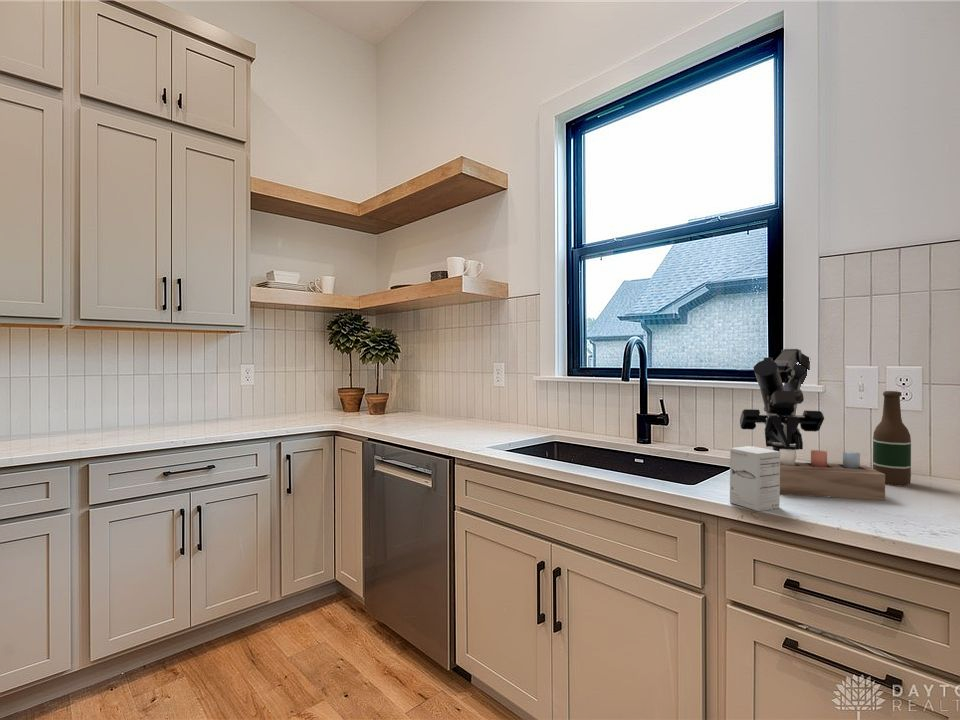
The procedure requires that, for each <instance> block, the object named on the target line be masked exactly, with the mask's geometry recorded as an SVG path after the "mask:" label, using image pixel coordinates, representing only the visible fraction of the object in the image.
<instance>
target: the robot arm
mask: <svg viewBox="0 0 960 720" xmlns="http://www.w3.org/2000/svg"><path fill="white" fill-rule="evenodd" d="M809 358H810V356H807V355H805V354H804V353H803V352H802V350H801V349H799V348H783V349H781V350H780V354H779V356H777V357H776V358H775V360H773V359H774V358H773V357H764V358H763V360H760V361H759V362H757V363H756V364H755V365H753V372H754V374H755V377H756V380H757V381H756V382H757V384H758V386H759V389H760V393H761V394H760V395H761V398H762V403H763V406H764V407H763V410H764V412H766V413H765V414H766V415H765V414H761V412H760V409H758V408H755V409H752V408H751V409H750V408H749V409H748V408H744V409H743V410H742V411H741V415H740V418H739V427H740V429H742V430H751V431H752V430H754V429H756V427H757V424H764V425H765V427H764V438H765V446H766V447H772V450H774V451H780V449H792V450H795V451H796V450H797V451H799V450H804V441H803V437H802V433H801V432H800V429H801V430H803V431H805V432H818V431H820V430H821V428H822V424H823V423H824V420H825V417H824V416H825V415H824V413H823V412H822V411H820V410H806V409H805V410H803V413H802V414H801V415H800V414H796V412H797V407H798V404H799V405H801V404H802V403H803V402H804V393H803V391H802V390H801V389H800V387H801V388H802V386H801V384H803V382H804V380H805V378H806V376H807V369H808V370H810V361H809ZM797 362H799V364H801V365H799V364H798V365H797V364H796V363H797ZM803 385H804V384H803ZM798 426H800V428H799V427H798Z"/></svg>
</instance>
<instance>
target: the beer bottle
mask: <svg viewBox="0 0 960 720" xmlns="http://www.w3.org/2000/svg"><path fill="white" fill-rule="evenodd" d="M882 396H883V405H882V416H881V420H880V422H879V423H878V424H877V426H875V429H874V431H873V437H872V469H874V470H876V471H879V472H881V473H883V474H885V485H888V484H889V486H897V485H902V486H901V487H905V485H906V486H909V485H910V484H911V481H912V480H911V479H912V440H911V439H912V437H911V434H910V431H909V429H908V428H907V427H906V425H905V424H904V422H903V419H902V411H901V399H900V398H901V397H902V393H901V392H900V391H897V390H885V391H883V393H882ZM908 484H909V485H908Z"/></svg>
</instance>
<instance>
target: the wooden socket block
mask: <svg viewBox="0 0 960 720" xmlns="http://www.w3.org/2000/svg"><path fill="white" fill-rule="evenodd" d="M788 494H793V495H792V496H805V495H810V496H809V497H821V496H830V497H829V498H838V497H842V498H843V499H854V498H856V500H858V499H859V500H870V499H871V500H873V501H885V500H886V484H885V474H883V473H881V472H879V471H876V470H874V469H873V467H870V466H867V465H862V464H860V469H849V468H843V463H827V467H811V462H799V461H798V462H797V461H795V466H786V465H780V495H788ZM811 495H813V496H811ZM842 498H841V499H842Z"/></svg>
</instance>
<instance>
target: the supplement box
mask: <svg viewBox="0 0 960 720" xmlns="http://www.w3.org/2000/svg"><path fill="white" fill-rule="evenodd" d="M729 466H730V467H729V503H730V504H735V505H738V506H740V507H744V508H747V509H750V510H753V511H756V512H762V511H768V510H769V509H770V510H773V508H775V509H778V507H779V508H780V502H781V501H780V495H781V494H780V451H774V450H773V449H768V448H763V447H759V446H758V447H757V446H754V445H753V446H752V445H746V446H739V447H730V453H729Z"/></svg>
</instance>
